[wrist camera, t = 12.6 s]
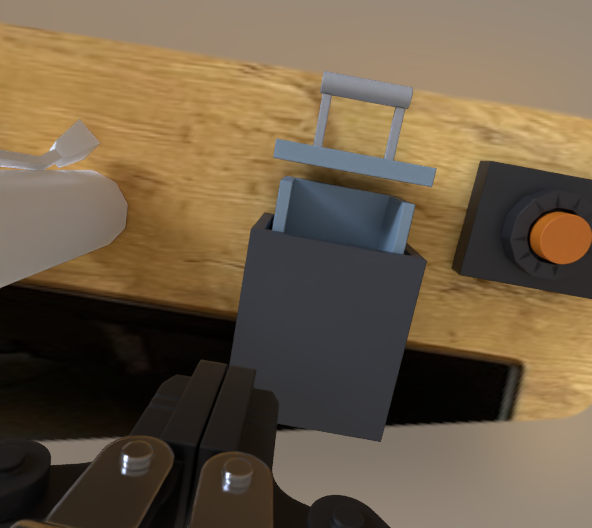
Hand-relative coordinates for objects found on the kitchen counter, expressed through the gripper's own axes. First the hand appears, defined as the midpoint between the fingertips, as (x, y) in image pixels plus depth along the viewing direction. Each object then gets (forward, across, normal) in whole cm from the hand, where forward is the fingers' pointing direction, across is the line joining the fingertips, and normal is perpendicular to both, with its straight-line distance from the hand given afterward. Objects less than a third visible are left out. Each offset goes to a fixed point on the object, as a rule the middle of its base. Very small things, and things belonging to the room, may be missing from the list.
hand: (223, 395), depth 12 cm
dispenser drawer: (+26, -4, -3) cm, 26 cm away
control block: (+27, -20, -4) cm, 34 cm away
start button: (+23, -20, -4) cm, 31 cm away
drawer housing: (+27, -4, +5) cm, 28 cm away
